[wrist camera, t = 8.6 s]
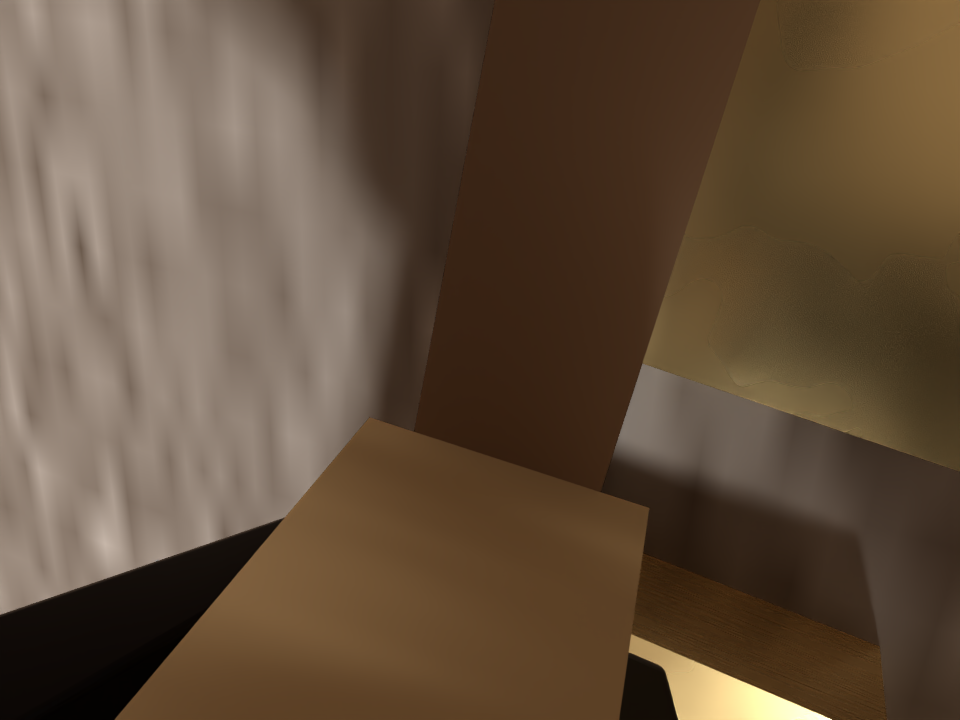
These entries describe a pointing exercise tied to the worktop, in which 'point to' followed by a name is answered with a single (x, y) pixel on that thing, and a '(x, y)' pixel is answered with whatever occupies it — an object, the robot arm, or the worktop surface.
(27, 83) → the worktop surface
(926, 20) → the chip
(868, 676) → the tan square block
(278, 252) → the worktop surface
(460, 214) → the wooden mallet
